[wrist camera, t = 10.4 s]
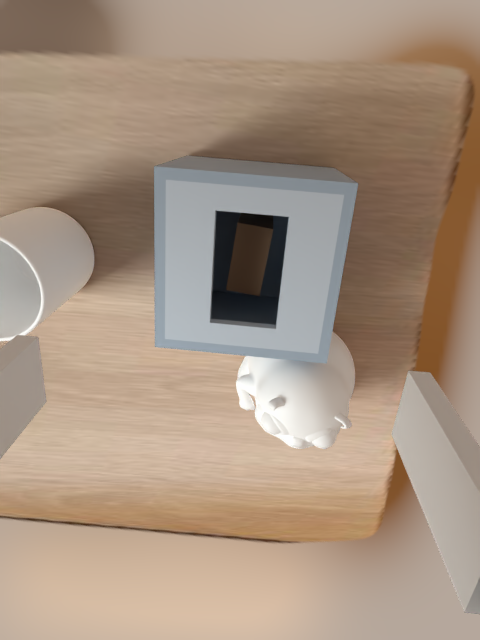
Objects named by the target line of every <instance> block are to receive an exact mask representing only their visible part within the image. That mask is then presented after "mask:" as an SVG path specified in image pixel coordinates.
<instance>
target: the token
mask: <svg viewBox="0 0 480 640" xmlns="http://www.w3.org/2000/svg"><path fill="white" fill-rule="evenodd" d="M272 233H273V215H262V214H250V213H241V215H240V217H239V220H238V223H237V229H236V235H235V241H234V246H233V252H232V258H231V264H230V270H229V276H228V281H227V287H226V290H229V291H235V292H240V293H245V294H251V295H256V296H260V292H261V287H262V282H263V277H264V272H265V267H266V263H267V258H268V253H269V248H270V243H271V238H272Z"/></svg>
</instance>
